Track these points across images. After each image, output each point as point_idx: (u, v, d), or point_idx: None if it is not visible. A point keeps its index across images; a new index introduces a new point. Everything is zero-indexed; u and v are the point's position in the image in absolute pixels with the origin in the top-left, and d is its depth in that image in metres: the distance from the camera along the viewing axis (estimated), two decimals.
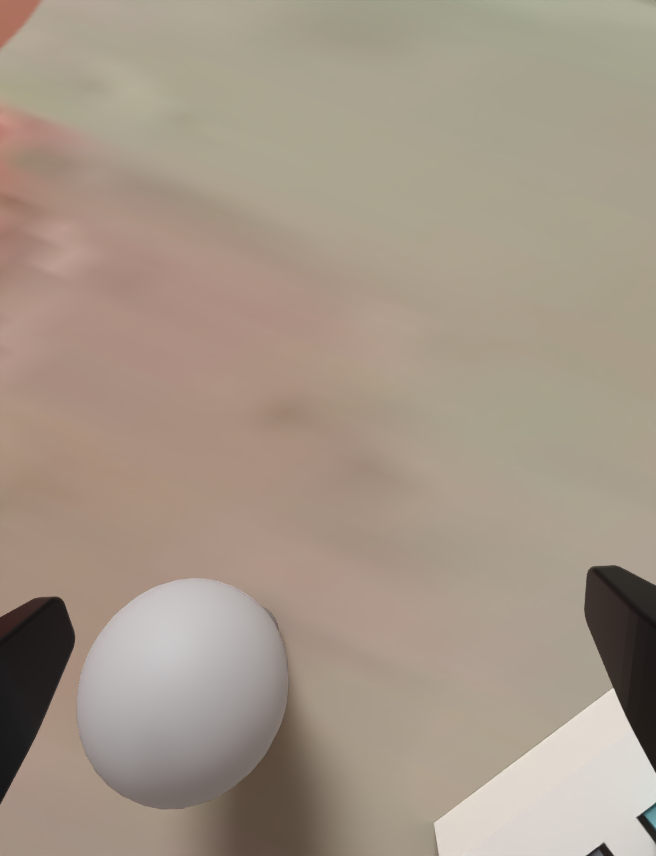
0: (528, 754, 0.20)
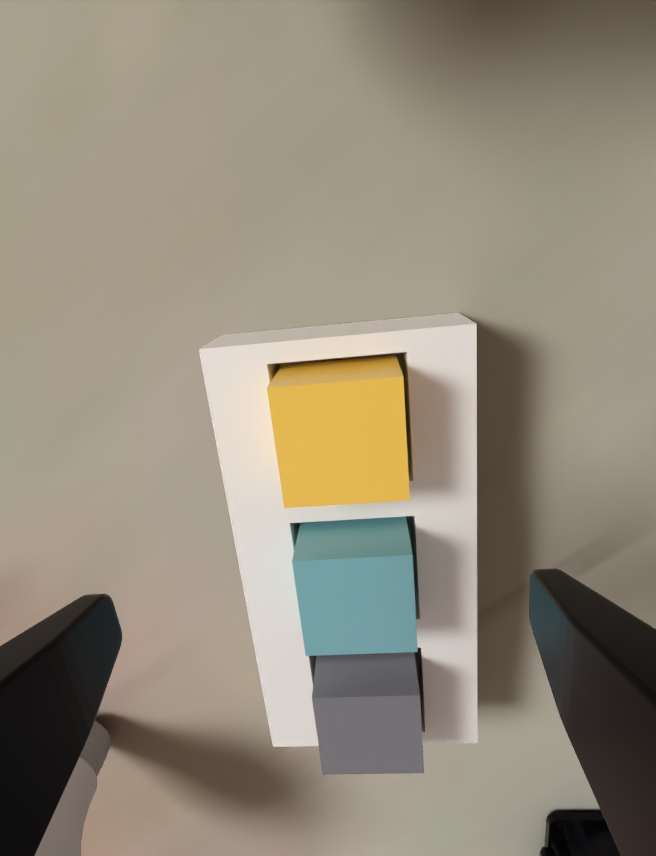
0: None
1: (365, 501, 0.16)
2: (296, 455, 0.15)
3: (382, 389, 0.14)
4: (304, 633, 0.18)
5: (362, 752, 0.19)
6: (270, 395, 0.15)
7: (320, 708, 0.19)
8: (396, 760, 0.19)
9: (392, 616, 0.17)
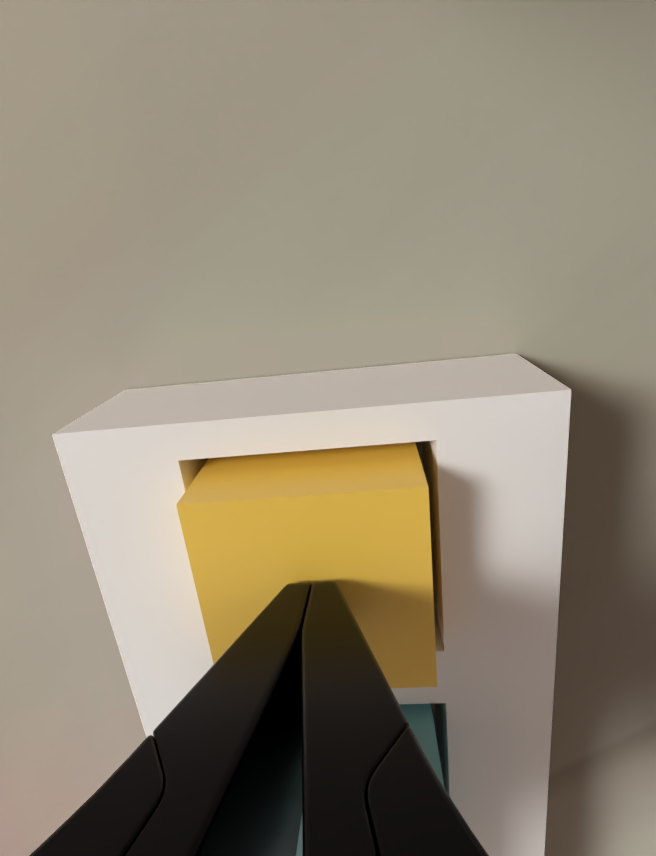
0: None
1: None
2: (236, 615, 0.09)
3: (389, 509, 0.08)
4: None
5: None
6: (184, 517, 0.08)
7: None
8: None
9: None
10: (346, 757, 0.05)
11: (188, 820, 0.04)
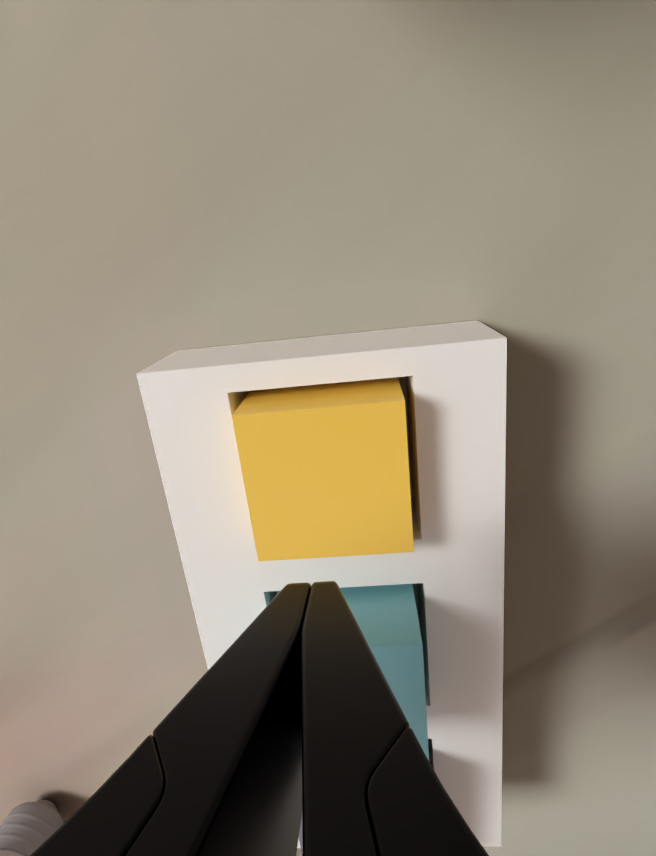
0: None
1: (358, 552, 0.13)
2: (271, 498, 0.12)
3: (378, 416, 0.11)
4: None
5: None
6: (236, 425, 0.12)
7: None
8: None
9: None
10: (346, 757, 0.05)
11: (188, 820, 0.04)
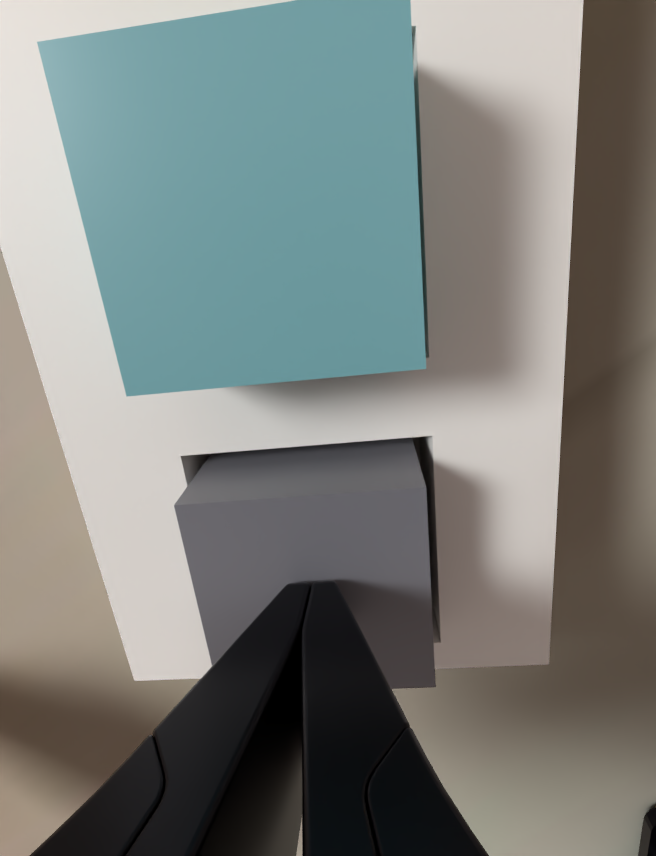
0: None
1: None
2: None
3: None
4: (112, 320, 0.06)
5: None
6: None
7: (196, 532, 0.08)
8: None
9: (352, 244, 0.06)
10: (346, 757, 0.05)
11: (188, 820, 0.04)
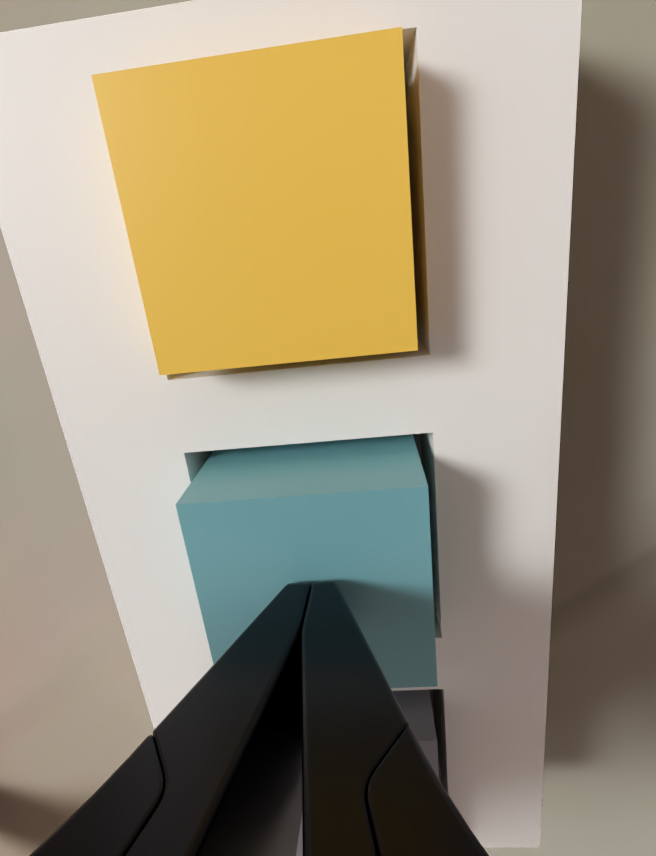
0: None
1: (325, 357, 0.08)
2: (172, 250, 0.07)
3: (353, 67, 0.06)
4: (214, 652, 0.09)
5: None
6: (102, 96, 0.07)
7: None
8: None
9: (387, 617, 0.08)
10: (346, 757, 0.05)
11: (188, 820, 0.04)
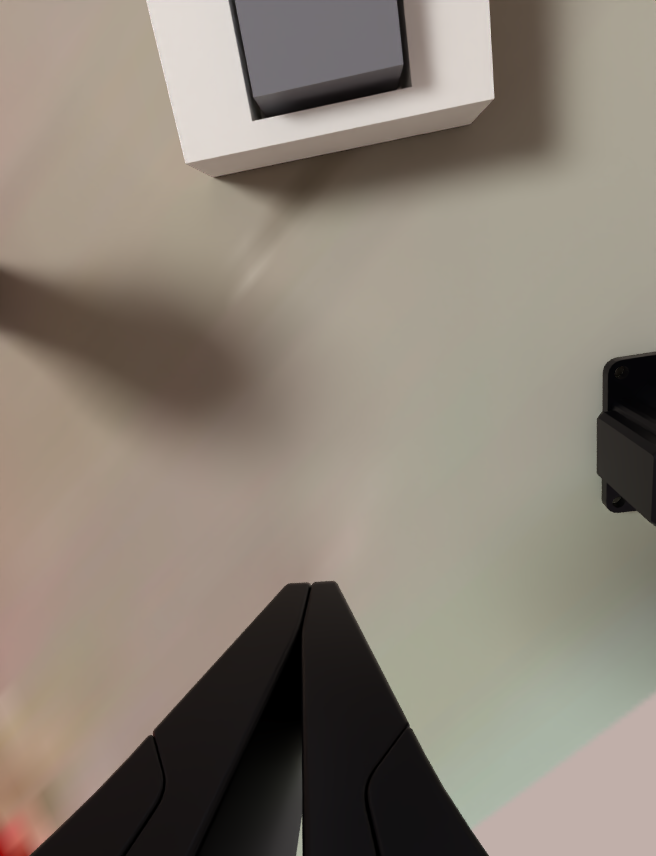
0: None
1: None
2: None
3: None
4: None
5: (306, 31, 0.13)
6: None
7: None
8: (359, 40, 0.13)
9: None
10: (346, 757, 0.05)
11: (188, 820, 0.04)
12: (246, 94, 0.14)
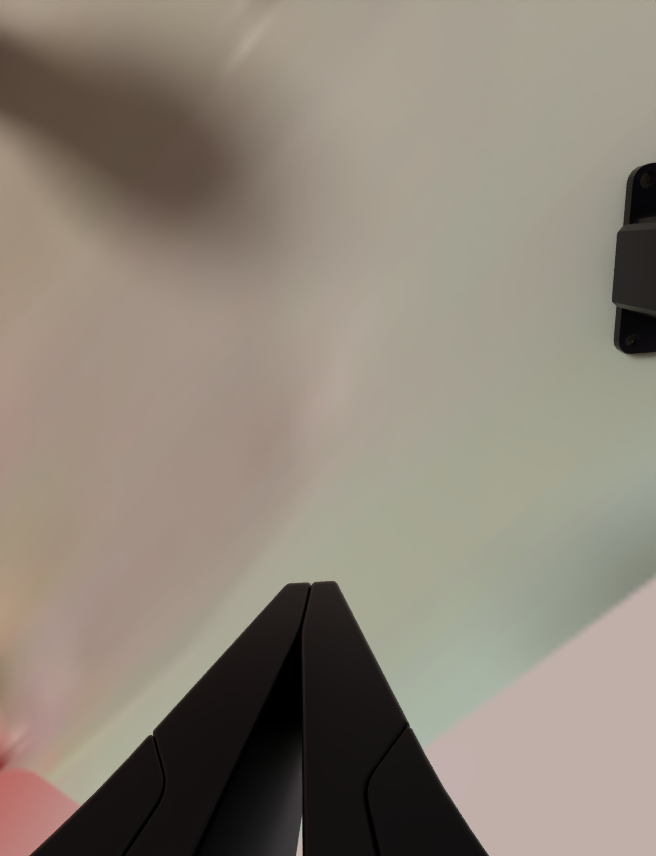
0: None
1: None
2: None
3: None
4: None
5: None
6: None
7: None
8: None
9: None
10: (346, 757, 0.05)
11: (188, 820, 0.04)
12: None
